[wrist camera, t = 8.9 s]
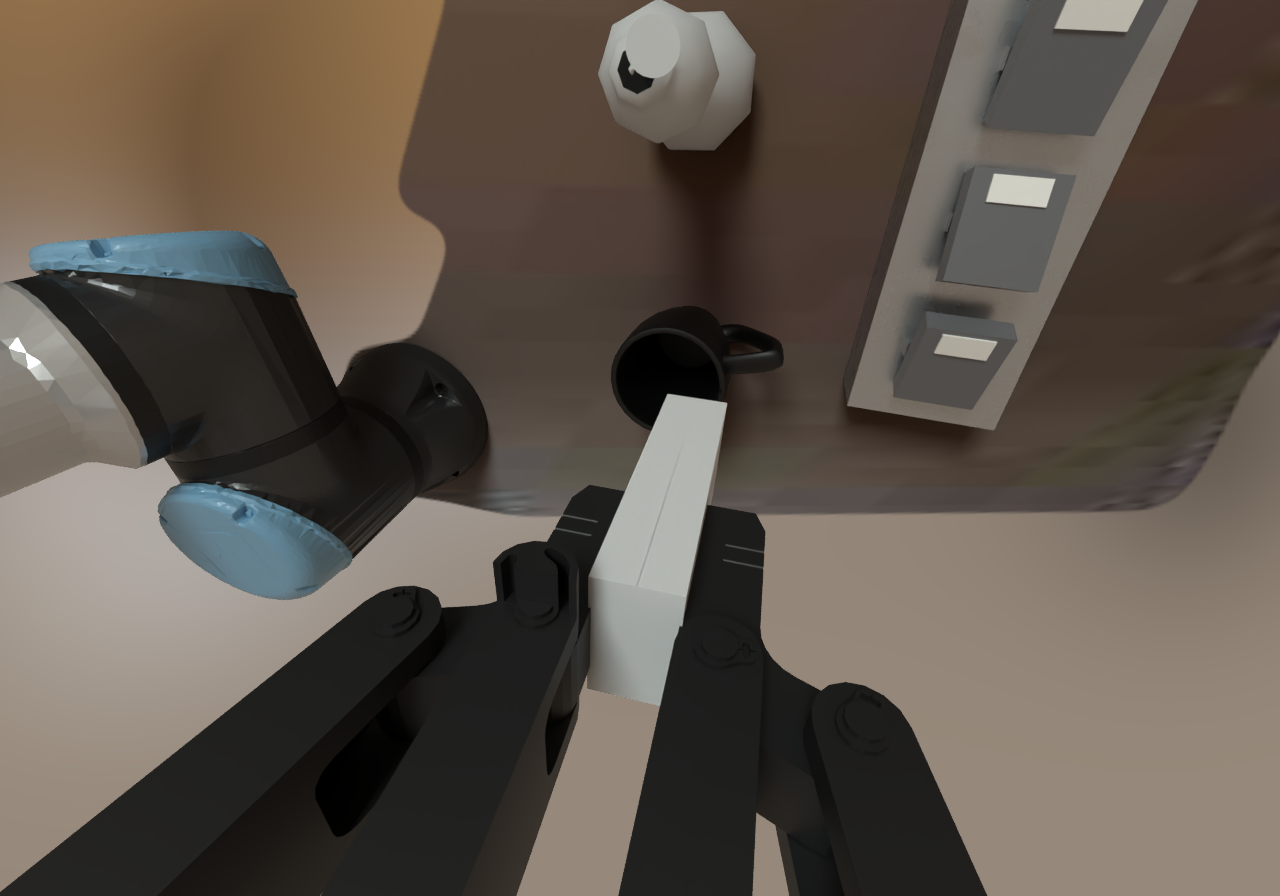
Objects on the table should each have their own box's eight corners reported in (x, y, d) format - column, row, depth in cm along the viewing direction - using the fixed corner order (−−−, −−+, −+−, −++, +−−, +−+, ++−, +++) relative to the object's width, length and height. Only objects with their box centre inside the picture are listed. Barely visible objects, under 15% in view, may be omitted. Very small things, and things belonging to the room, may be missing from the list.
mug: (793, 369, 45) (790, 423, 37) (655, 389, 49) (627, 441, 41) (779, 269, 42) (773, 306, 34) (632, 299, 46) (596, 338, 38)
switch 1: (983, 119, 30) (988, 129, 29) (1041, -25, 26) (1050, -21, 25) (1085, 126, 29) (1094, 137, 28) (1163, -22, 25) (1178, -16, 24)
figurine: (669, 170, 40) (572, 210, 24) (629, 50, 37) (484, -2, 20) (775, 123, 37) (750, 130, 20) (741, -13, 34) (678, -134, 17)
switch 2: (935, 281, 33) (943, 280, 32) (965, 172, 31) (976, 165, 30) (1025, 292, 32) (1039, 292, 31) (1061, 181, 31) (1078, 174, 29)
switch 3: (893, 381, 39) (893, 398, 38) (925, 311, 34) (927, 329, 33) (969, 393, 38) (972, 411, 37) (1013, 323, 33) (1018, 341, 32)
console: (843, 378, 45) (847, 409, 40) (965, -45, 31) (994, -74, 26) (979, 400, 43) (1001, 435, 38) (1174, -40, 29) (1247, -70, 24)
